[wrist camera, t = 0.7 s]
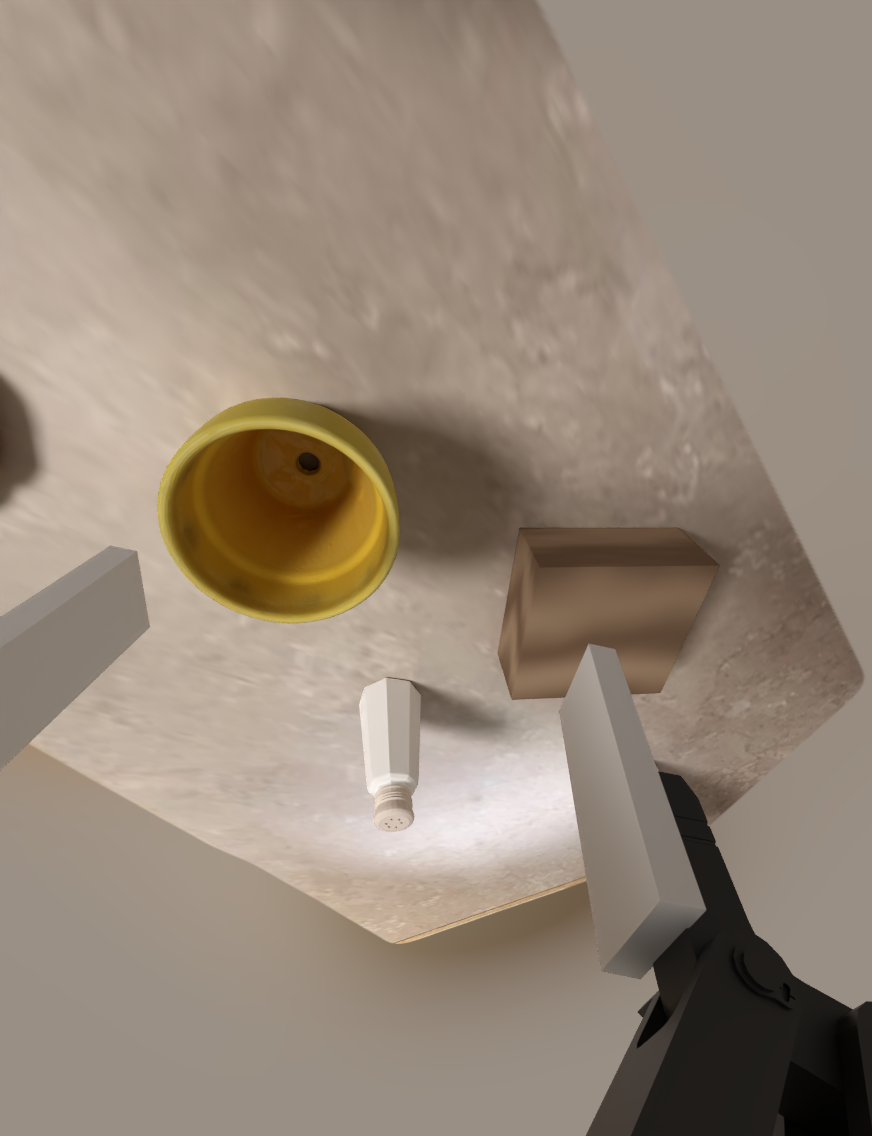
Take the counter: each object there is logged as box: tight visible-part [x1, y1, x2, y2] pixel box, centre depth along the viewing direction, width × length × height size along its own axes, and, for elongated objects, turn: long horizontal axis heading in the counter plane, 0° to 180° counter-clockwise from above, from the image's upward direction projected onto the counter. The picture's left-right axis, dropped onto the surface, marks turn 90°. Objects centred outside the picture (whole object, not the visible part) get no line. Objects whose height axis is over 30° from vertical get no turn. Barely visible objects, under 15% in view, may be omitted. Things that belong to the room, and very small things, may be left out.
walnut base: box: [498, 528, 720, 700], centre depth 35 cm, size 12×12×5 cm
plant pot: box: [157, 398, 400, 623], centre depth 25 cm, size 10×10×10 cm
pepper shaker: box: [359, 678, 421, 832], centre depth 37 cm, size 5×5×11 cm
